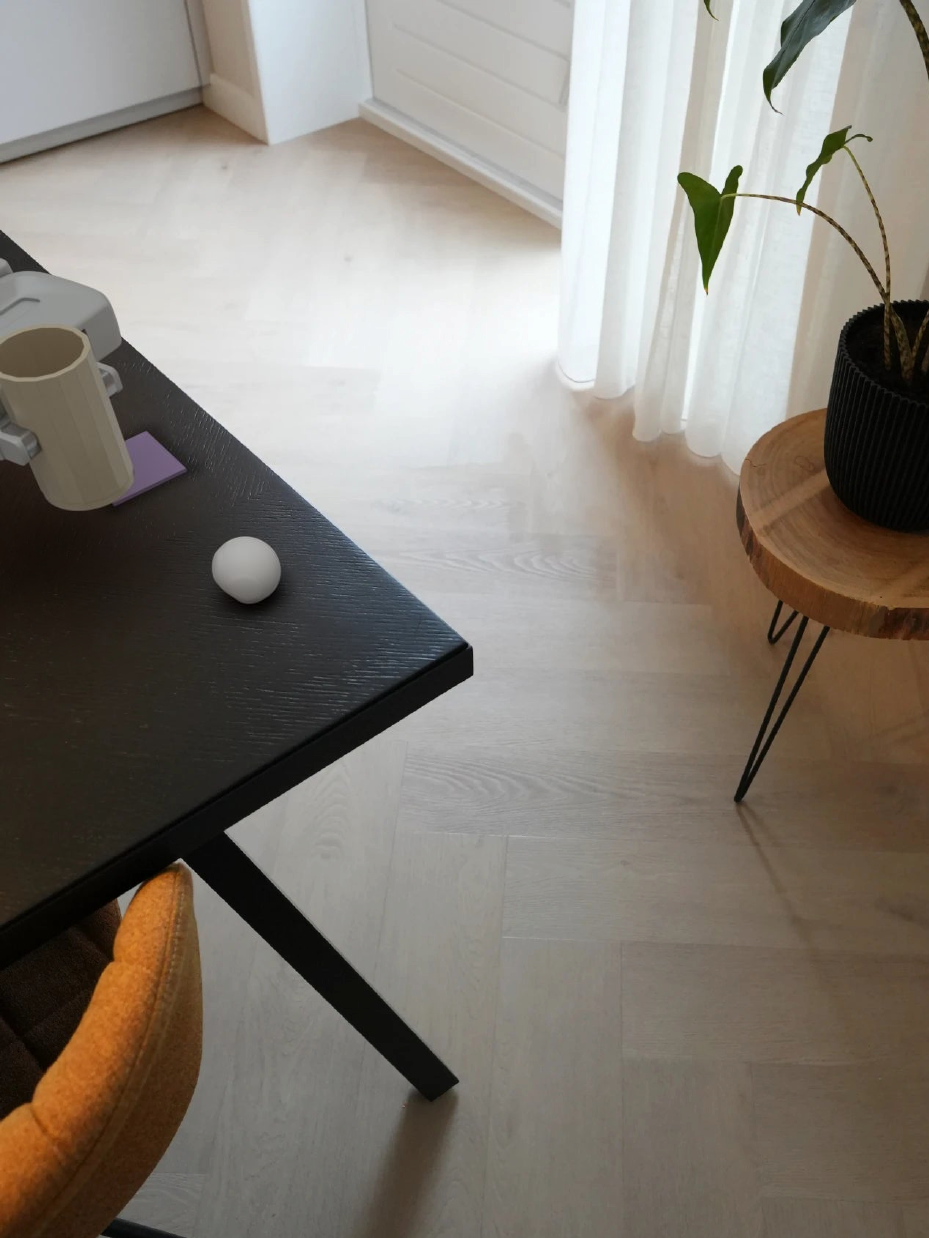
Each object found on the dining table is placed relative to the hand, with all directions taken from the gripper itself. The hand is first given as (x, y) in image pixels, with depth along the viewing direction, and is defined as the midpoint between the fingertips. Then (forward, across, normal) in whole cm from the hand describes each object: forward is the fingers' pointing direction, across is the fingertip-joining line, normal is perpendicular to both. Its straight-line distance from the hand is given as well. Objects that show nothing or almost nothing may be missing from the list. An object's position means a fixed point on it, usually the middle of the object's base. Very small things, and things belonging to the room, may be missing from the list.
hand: (73, 416), depth 72 cm
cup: (-1, 0, +6) cm, 6 cm away
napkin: (-11, +11, +17) cm, 23 cm away
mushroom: (+7, +4, +17) cm, 19 cm away
